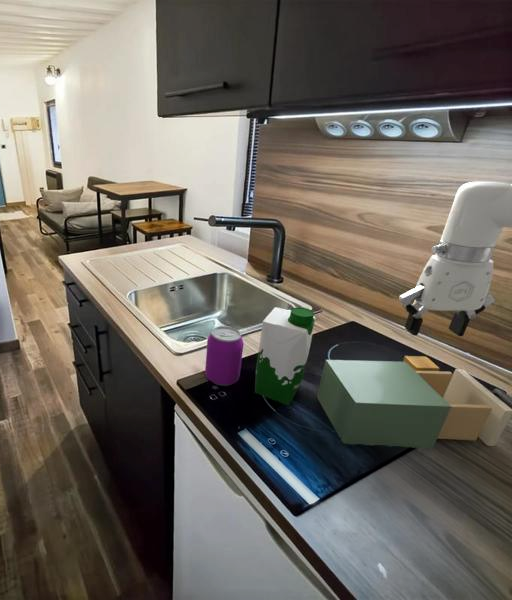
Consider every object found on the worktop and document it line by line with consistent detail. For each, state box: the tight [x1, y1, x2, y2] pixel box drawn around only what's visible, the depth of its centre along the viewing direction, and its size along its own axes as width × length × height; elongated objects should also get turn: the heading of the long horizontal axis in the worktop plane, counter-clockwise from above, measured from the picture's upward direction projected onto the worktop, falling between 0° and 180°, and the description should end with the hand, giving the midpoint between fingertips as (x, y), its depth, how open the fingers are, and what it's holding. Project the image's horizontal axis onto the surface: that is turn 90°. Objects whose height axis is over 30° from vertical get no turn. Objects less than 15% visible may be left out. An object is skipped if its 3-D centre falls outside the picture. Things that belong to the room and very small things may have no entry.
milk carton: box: [254, 306, 317, 407], centre depth 75 cm, size 9×9×20 cm
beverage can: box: [204, 325, 245, 387], centre depth 82 cm, size 8×8×12 cm
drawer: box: [416, 368, 512, 447], centre depth 66 cm, size 19×11×8 cm, turn 83°
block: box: [402, 355, 441, 371], centre depth 80 cm, size 4×4×4 cm
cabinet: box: [316, 359, 451, 450], centre depth 68 cm, size 15×13×10 cm
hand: (433, 332), depth 75 cm, fingers open, 7 cm apart
